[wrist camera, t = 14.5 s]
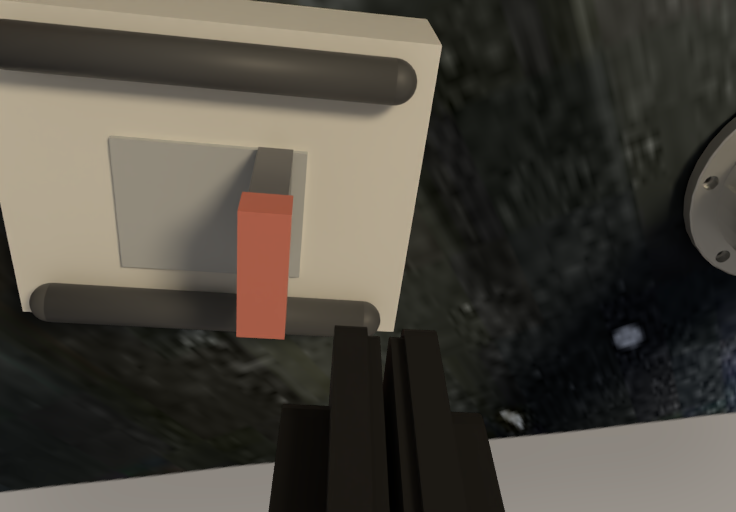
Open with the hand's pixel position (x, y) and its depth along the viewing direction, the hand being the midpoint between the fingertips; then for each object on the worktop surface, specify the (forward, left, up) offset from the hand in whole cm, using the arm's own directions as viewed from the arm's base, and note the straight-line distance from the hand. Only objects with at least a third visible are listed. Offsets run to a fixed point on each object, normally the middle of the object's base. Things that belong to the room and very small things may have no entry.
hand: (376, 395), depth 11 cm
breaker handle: (+3, +7, -21) cm, 22 cm away
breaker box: (+6, +7, -26) cm, 27 cm away
